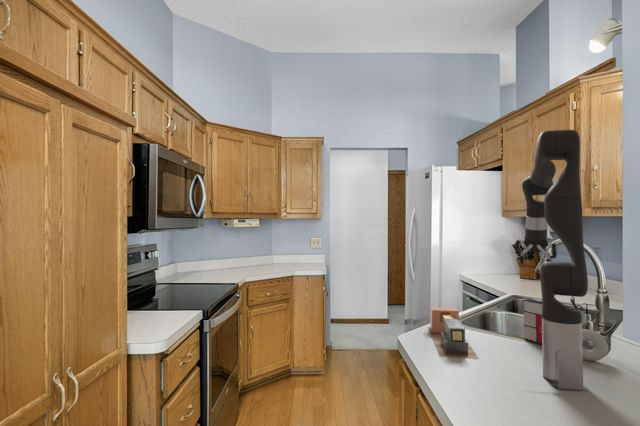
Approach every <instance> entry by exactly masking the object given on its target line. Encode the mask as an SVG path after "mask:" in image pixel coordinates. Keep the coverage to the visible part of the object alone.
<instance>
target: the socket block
mask: <svg viewBox="0 0 640 426" xmlns="http://www.w3.org/2000/svg"><path fill="white" fill-rule="evenodd" d="M429 308H430V309H429V310H430V311H429V312H430V313H429V314H430V315H429V316H430V317H429V318H430V321H429V322H430V327H431V331H432V332H440V333H444V325H443V315H450V316H451V317H452V318H453V319H458V320H459V319H460V311H459V310H458V309H457V308H456V307H436V306H435V307H434V306H433V307H432V306H430V307H429ZM459 321H460V320H459Z"/></svg>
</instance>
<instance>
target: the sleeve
mask: <svg viewBox="0 0 640 426" xmlns="http://www.w3.org/2000/svg"><path fill="white" fill-rule="evenodd" d="M451 330H461V331H462V341H458V340H452V338H451ZM468 343H469V342H468V340H467V339H466V328H465V327H464V325H462V323H461V322H460V320H458V319H444V333H441V344H442V346H443V348H444V350H445V352H446V353H461V354H468Z"/></svg>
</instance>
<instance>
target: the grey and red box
mask: <svg viewBox="0 0 640 426" xmlns="http://www.w3.org/2000/svg"><path fill="white" fill-rule="evenodd" d="M523 339H524V340H526V339H528V340H527V341H529V340H532V341H531V342H532V343H536V344H540V345H542V300H539V299H534V298H527V299H523Z"/></svg>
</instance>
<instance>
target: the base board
mask: <svg viewBox="0 0 640 426" xmlns="http://www.w3.org/2000/svg"><path fill="white" fill-rule="evenodd" d="M427 330H428V332H429V334H430V336H431V339H432V341H433V344H434V346H435V348H436V352H437V353H438V356H439V357H440V358H455V359H456V358H458V359H470V360H471V359H472V360H473V359H474V360H480V358H479V356H478V355H477V353H476V352H475V350H474V349H473V348H472V346H471V345H470V343H469V342H468V354H461V353H446V352H445V350H444V348H443V346H442V344H441V333H440V332H432V331H431V326H428V327H427Z"/></svg>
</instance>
